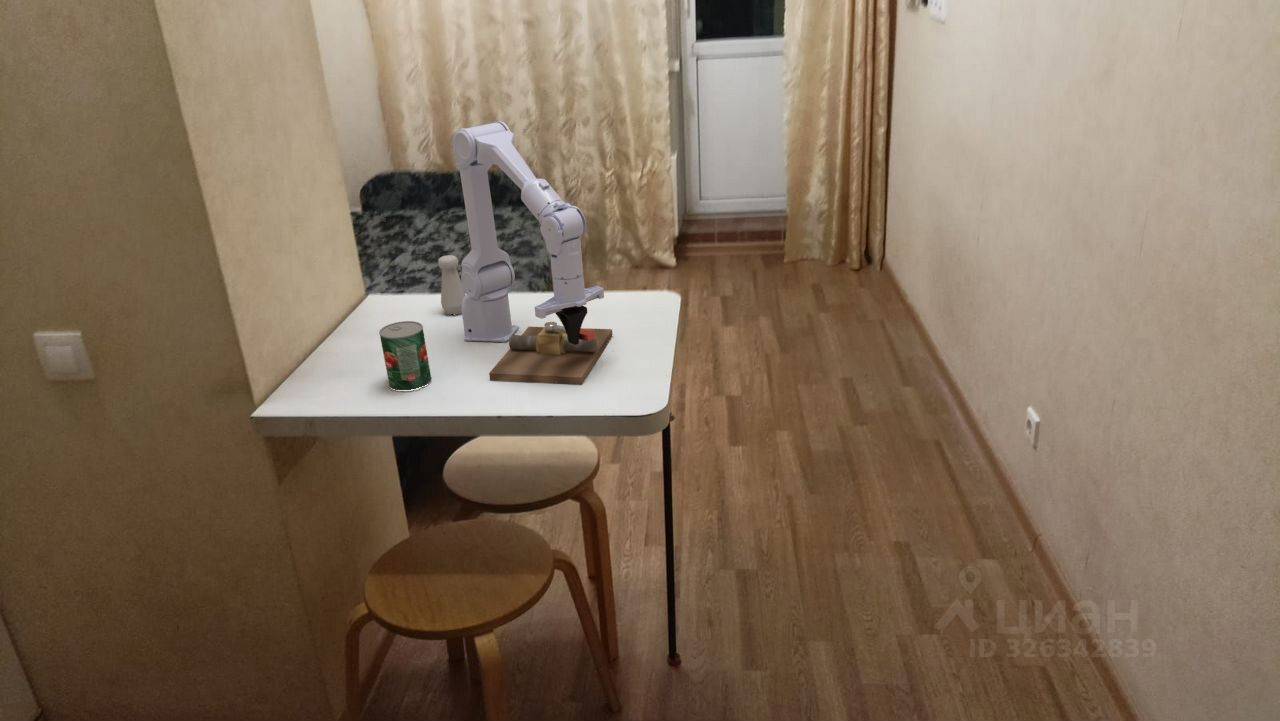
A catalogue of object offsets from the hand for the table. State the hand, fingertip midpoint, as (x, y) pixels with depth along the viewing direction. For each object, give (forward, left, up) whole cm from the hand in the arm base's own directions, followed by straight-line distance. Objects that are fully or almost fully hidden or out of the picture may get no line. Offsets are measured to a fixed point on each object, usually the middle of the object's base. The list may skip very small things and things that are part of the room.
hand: (573, 343), depth 174 cm
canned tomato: (-30, -9, -5) cm, 32 cm away
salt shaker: (-36, +27, -5) cm, 45 cm away
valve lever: (-2, +3, +1) cm, 3 cm away
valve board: (-6, +5, -5) cm, 9 cm away
